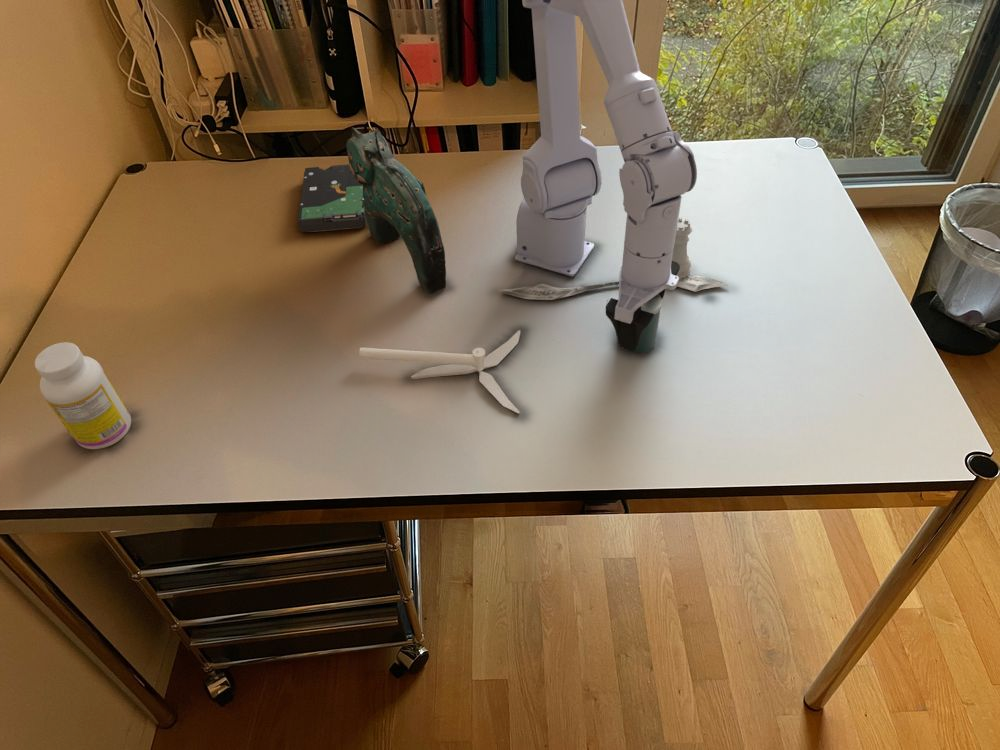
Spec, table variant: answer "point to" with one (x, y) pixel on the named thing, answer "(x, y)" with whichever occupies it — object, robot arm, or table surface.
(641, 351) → the tin can
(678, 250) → the rook chess piece
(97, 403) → the supplement bottle
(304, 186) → the disk drive
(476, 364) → the wind turbine
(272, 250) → the table surface
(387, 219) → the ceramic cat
